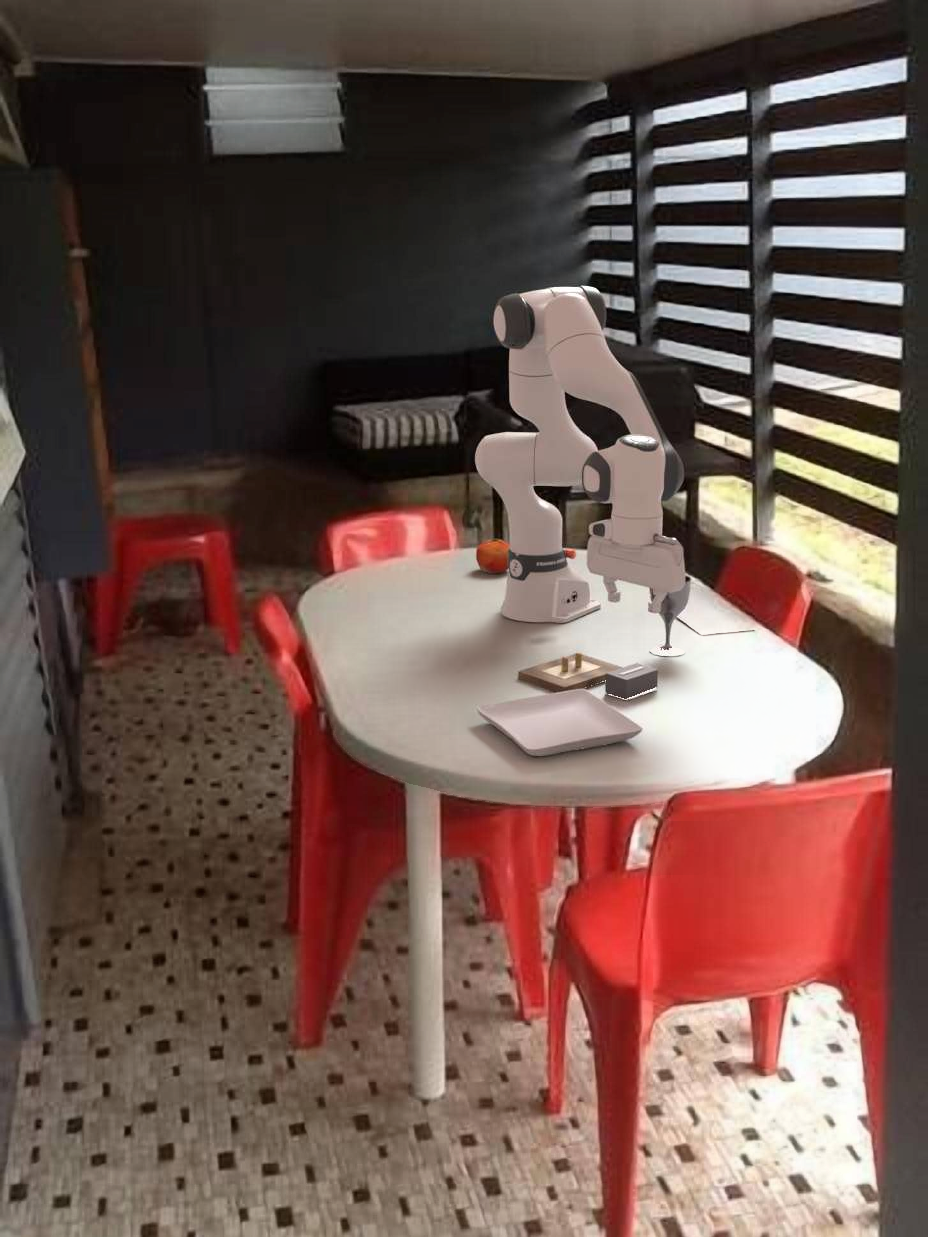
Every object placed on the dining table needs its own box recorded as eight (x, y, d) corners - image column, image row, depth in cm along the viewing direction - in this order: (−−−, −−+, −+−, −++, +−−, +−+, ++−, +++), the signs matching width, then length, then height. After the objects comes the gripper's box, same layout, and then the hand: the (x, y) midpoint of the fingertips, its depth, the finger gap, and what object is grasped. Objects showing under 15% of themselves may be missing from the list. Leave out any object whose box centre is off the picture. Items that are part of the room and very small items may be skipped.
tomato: (500, 578, 323) (501, 545, 320) (468, 572, 327) (468, 540, 325) (521, 569, 330) (521, 537, 328) (488, 564, 335) (488, 532, 332)
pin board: (577, 660, 264) (578, 639, 263) (624, 675, 256) (625, 654, 254) (518, 678, 254) (518, 657, 253) (564, 695, 245) (565, 673, 244)
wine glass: (695, 651, 269) (699, 577, 265) (672, 660, 264) (675, 585, 259) (662, 642, 275) (665, 570, 270) (638, 651, 269) (641, 578, 265)
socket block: (636, 683, 251) (637, 662, 250) (657, 690, 248) (658, 668, 246) (605, 694, 246) (605, 672, 245) (626, 701, 242) (626, 679, 241)
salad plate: (528, 768, 215) (528, 748, 214) (473, 723, 233) (473, 704, 232) (645, 747, 223) (646, 727, 222) (583, 705, 241) (583, 687, 240)
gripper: (695, 537, 232) (691, 615, 236) (606, 518, 247) (604, 592, 251) (670, 542, 228) (667, 622, 232) (581, 523, 243) (580, 598, 247)
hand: (633, 606), depth 242 cm, fingers open, 8 cm apart
